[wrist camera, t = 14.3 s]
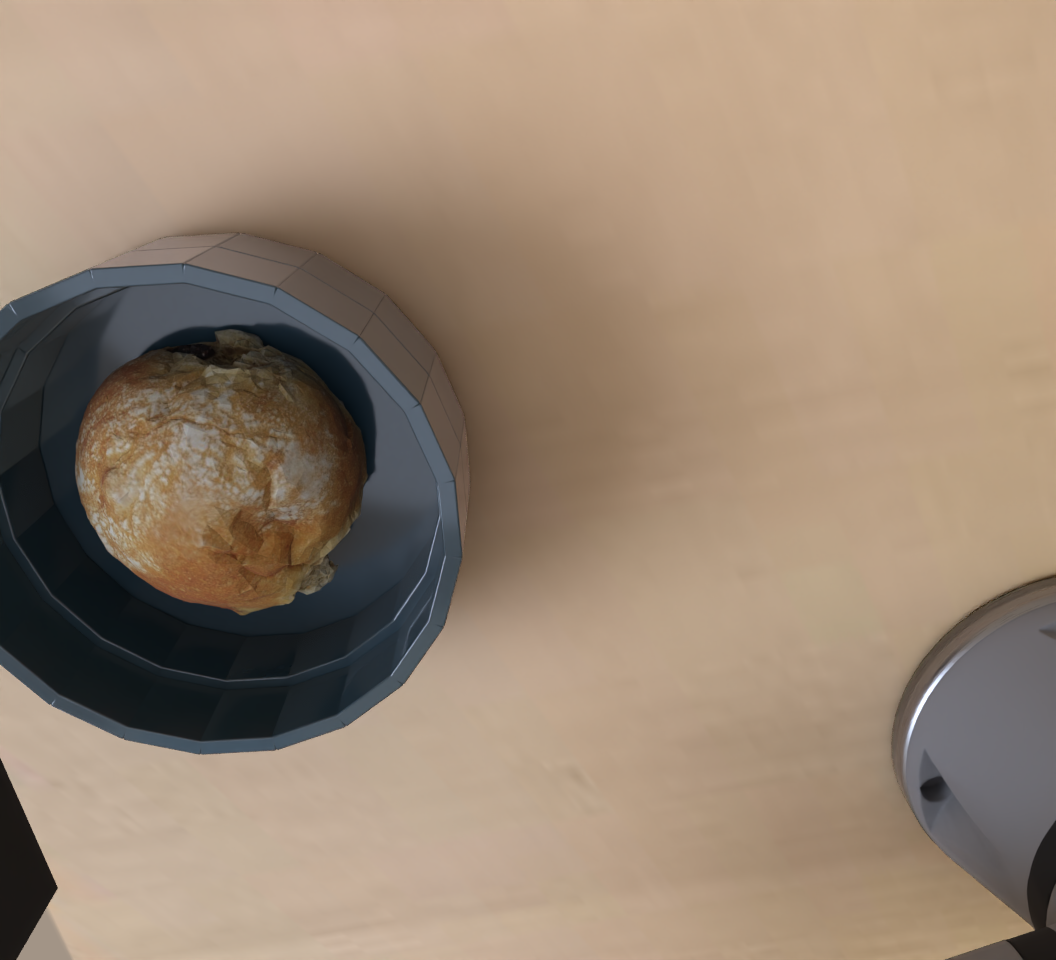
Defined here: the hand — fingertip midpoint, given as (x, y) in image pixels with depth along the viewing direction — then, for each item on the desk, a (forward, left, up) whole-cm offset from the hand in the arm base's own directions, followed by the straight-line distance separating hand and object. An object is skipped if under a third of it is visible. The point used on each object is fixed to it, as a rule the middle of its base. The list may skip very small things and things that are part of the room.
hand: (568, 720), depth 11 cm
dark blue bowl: (+6, +12, -26) cm, 29 cm away
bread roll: (+6, +12, -26) cm, 29 cm away
